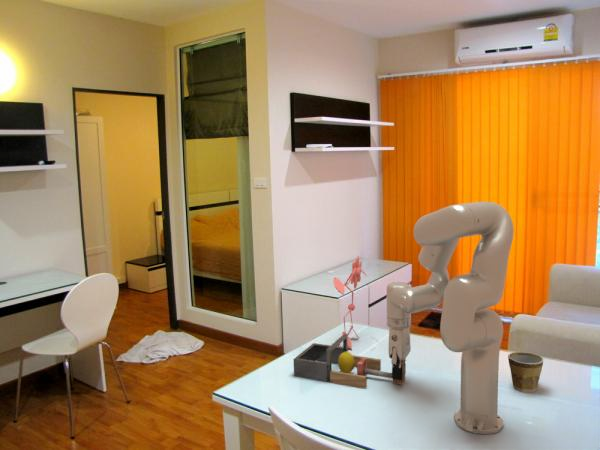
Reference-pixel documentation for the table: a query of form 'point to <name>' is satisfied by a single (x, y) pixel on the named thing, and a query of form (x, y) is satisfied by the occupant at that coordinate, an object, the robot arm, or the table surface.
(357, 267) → the figurine
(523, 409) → the table surface
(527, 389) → the ceramic cup
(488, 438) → the table surface
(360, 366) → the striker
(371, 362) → the lane
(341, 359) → the lemon
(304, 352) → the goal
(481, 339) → the robot arm
